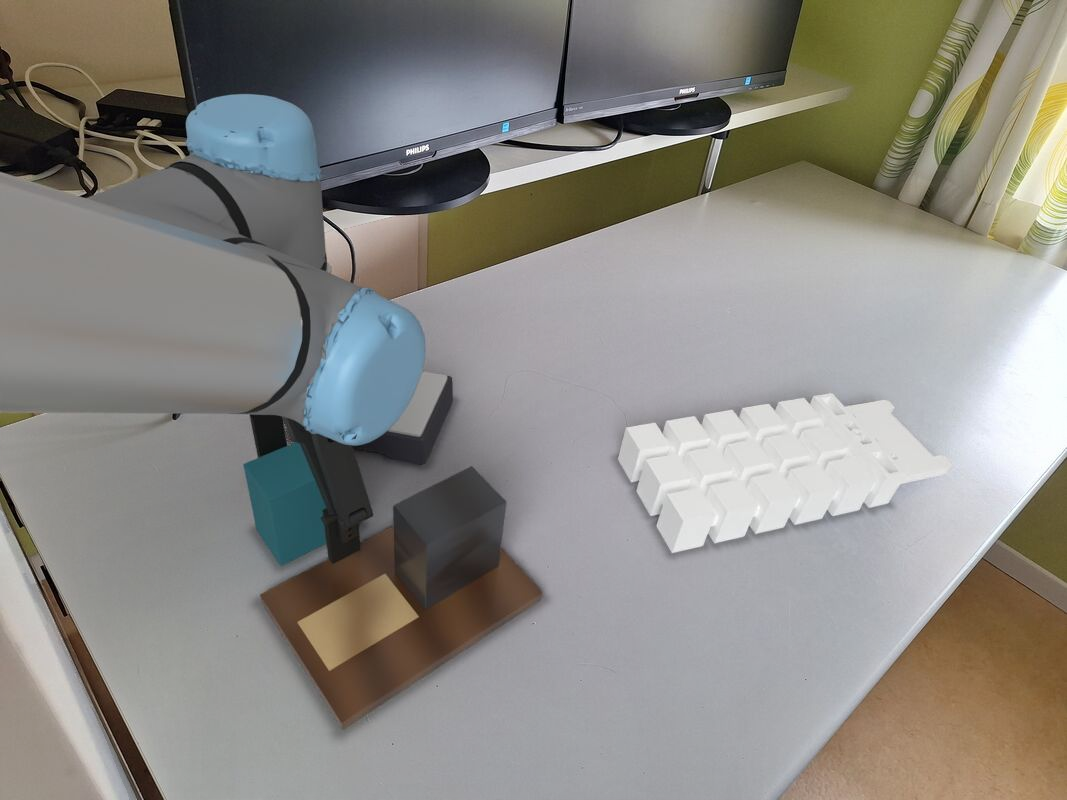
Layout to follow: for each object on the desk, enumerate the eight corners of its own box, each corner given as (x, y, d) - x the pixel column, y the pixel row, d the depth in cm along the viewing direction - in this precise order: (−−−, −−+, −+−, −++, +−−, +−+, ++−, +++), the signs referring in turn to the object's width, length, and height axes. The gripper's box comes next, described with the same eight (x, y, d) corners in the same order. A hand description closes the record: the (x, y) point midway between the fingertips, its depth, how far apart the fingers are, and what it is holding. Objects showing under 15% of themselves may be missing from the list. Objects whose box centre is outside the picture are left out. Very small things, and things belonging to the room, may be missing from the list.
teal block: (280, 566, 69) (268, 500, 63) (256, 530, 71) (242, 463, 65) (359, 526, 73) (355, 461, 67) (333, 494, 76) (327, 428, 70)
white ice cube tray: (625, 427, 80) (888, 383, 91) (617, 459, 83) (872, 413, 94) (683, 521, 71) (967, 460, 82) (671, 553, 74) (946, 490, 85)
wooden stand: (342, 730, 58) (333, 660, 51) (261, 602, 66) (244, 526, 59) (541, 600, 69) (555, 527, 62) (452, 502, 76) (456, 429, 70)
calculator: (326, 348, 87) (453, 370, 85) (330, 378, 89) (453, 399, 88) (283, 410, 78) (423, 435, 77) (289, 440, 81) (424, 465, 79)
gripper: (416, 392, 51) (416, 577, 65) (254, 230, 65) (283, 413, 79) (314, 435, 47) (338, 622, 61) (164, 253, 61) (212, 441, 75)
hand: (307, 505), depth 70 cm, fingers open, 13 cm apart
